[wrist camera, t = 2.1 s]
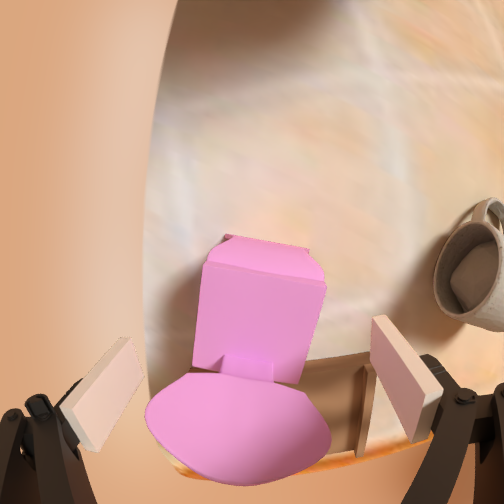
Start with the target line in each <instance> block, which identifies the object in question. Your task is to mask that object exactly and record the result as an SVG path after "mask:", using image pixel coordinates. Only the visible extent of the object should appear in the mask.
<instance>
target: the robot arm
mask: <svg viewBox="0 0 504 504" xmlns="http://www.w3.org/2000/svg"><path fill="white" fill-rule="evenodd" d="M370 362H371V364H372V366H373V368H374V369H375V371H376V373H377V375H378V377H379V379H380V381H381V383H382V385H383V387H384V389H385V391H386V393H387V395H388V397H389V399H390V401H391V403H392V405H393V407H394V409H395V411H396V413H397V416H398V418H399V420H400V422H401V424H402V426H403V428H404V430H405V432H406V435H407V437H408V439H409V441H410V443H411V444H413V443H416V442H419V441H422V440H425V439H428V436H429V433H430V431H431V430H432V432H433V434H434V437H433V440H432V442H431V444H430V447H429V449H428V451H427V454H426V456H425V458H424V460H423V462H422V464H421V466H420V468H419V470H418V472H417V474H416V476H415V478H414V480H413V482H412V485H411V486H410V488H409V490H408V492H407V493H406V495H405V497H404V499H403V500H402V502H401V504H447V503H448V500H449V498H450V495H451V493H452V490H453V488H454V485H455V483H456V480H457V477H458V475H459V472H460V469H461V466H462V463H463V459H464V457H465V454H466V450H467V447H468V444H471V443H475V487H474V500H473V504H504V383H501V384H499V385H497V387H496V388H495V391H494V393H493V394H489V395H481V396H478V395H477V394H476V392H474V391H473V390H471V389H468V388H460V387H459V385H458V384H457V383H456V382H455V380H454V379H453V378H452V377H451V376H450V374H449V373H448V372H447V371H446V369H445V368H444V367H443V366H442V365H441V363H440V362H439V361H438V360H437V359H436V358H434V357H433V356H431V355H429V354H426V355H422V356H418V355H417V353H416V352H415V351H414V349H413V348H412V347H411V346H410V344H409V343H408V342H407V341H406V339H405V338H404V337H403V336H402V334H401V333H400V332H399V331H398V329H397V328H396V327H395V326H394V324H393V323H392V322H391V321H390V320H389V318H388V317H387V316H386V315H379V316H373V317H372V329H371V348H370ZM143 378H144V374H143V371H142V368H141V365H140V362H139V359H138V356H137V353H136V350H135V347H134V344H133V341H132V338H131V337H120V338H119V339H118V340H117V341H116V343H115V344H114V345H113V346H112V347H111V348H110V349H109V350H108V351H107V353H106V354H105V355H104V356H103V357H102V358H101V359H100V360H99V362H98V363H97V364H96V365H95V366H94V367H93V368H92V369H91V370H90V372H89V373H88V374H87V375H86V376H85V377H84V378H82V379H80V380H79V381H77V382H76V383H74V385H73V386H72V387H71V388H70V390H68V391H67V392H66V395H64V396H63V397H62V398H61V399H60V401H59V402H58V403H57V404H56V405H55V406H54V407H53V406H52V405H51V403H50V401H49V399H48V397H47V396H46V395H44V394H36V395H33V396H31V397H30V398H28V399H27V401H26V402H25V407H26V408H27V410H28V412H29V414H30V415H31V417H25V416H24V414H23V413H22V411H21V410H20V409H16V408H15V409H10V410H8V411H7V412H6V413H5V414H4V415H3V417H2V420H1V422H0V504H97V502H96V499H95V496H94V494H93V491H92V488H91V485H90V482H89V479H88V476H87V473H86V470H85V467H84V463H83V460H82V456H81V453H80V450H79V449H78V447H77V445H78V444H79V442H81V444H82V445H83V447H84V448H85V450H88V451H91V452H95V453H99V451H100V450H101V448H102V446H103V444H104V443H105V441H106V439H107V438H108V436H109V434H110V433H111V431H112V429H113V428H114V426H115V424H116V423H117V421H118V419H119V418H120V416H121V414H122V413H123V411H124V409H125V408H126V406H127V404H128V402H129V401H130V399H131V398H132V396H133V395H134V393H135V391H136V390H137V388H138V386H139V385H140V383H141V381H142V380H143ZM20 448H21V449H22V450H23V452H22V454H21V452H20Z"/></svg>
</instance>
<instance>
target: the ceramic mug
mask: <svg viewBox="0 0 504 504" xmlns="http://www.w3.org/2000/svg"><path fill="white" fill-rule="evenodd" d="M488 208H489V209H490V210H491V211H492V212H493V213H494V214H495V215H496V216H497V217H498V219H499V220H500V222H501V224H502V228H503V234H504V204H503V203H502V202H501V201H500V200H499V199H497V198H488V199H486V200H483V201H481V202H480V203H478V204H477V206H476V207H475V209H474V212H473V215H472V219H471V221H469V222H466V223H464V224H463V225H461V226H460V227H458V228H457V229H456V230H455V231H454V232H453V233H452V235H451V236H450V237H449V239H448V240H447V242H446V243H445V245H444V247H443V249H442V251H441V253H440V255H439V258H438V260H437V263H436V267H435V272H434V281H433V289H434V296H435V299H436V302H437V304H438V306H439V308H440V309H441V310H442V311H443V313H445V314H446V315H447V316H449V317H450V318H452V319H455V320H459V321H462V322H465V323H468V324H471V325H474V326H477V327H481V328H483V329H486V330H489V331H493V332H504V235H503V234H502V233H501V232H500V231H499V230H498V229H496V228H495V227H494V226H493V225H491V224H490V223H488V222H486V221H485V216H486V213H487V209H488Z"/></svg>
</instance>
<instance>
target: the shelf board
mask: <svg viewBox="0 0 504 504" xmlns="http://www.w3.org/2000/svg"><path fill="white" fill-rule="evenodd" d="M189 373H219V372H218V371H212V370H207V369H203V368H190V370H189ZM376 377H377V373H376V371H375V369H374V368H373V366H372V364H371V362H370V352H364V353H358V354H352V355H346V356H339V357H333V358H325V359H318V360H310V361H305V364H304V368H303V371H302V374H301V377H300V380H299V383H298V384H290V383H282V382H276V381H274V383H277V384H280V385H284V386H287V387H290V388H292V389H295V390H298V391H301V392H304V393H305V394H306V395H307V397H308V398H309V400H310V401H311V402H312V404H313V405H314V406H315V407H316V409H317V410H318V411H319V413H320V414H321V415H322V417H323V418H324V420H325V422H326V423H327V425H328V427H329V429H330V432H331V437H332V442H331V447H330V449H329V450H328V452H327V453H326V454H333V453H339V452H345V451H351V450H354V453H355V457H356V458H358V457H363V455H364V450H365V446H366V441H367V436H368V430H369V425H370V419H371V413H372V406H373V400H374V393H375V385H376Z"/></svg>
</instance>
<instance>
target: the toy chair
mask: <svg viewBox="0 0 504 504" xmlns="http://www.w3.org/2000/svg"><path fill="white" fill-rule="evenodd" d="M225 238H226V239H229V240H227V241H225V242H223V243H221V244H219V245H217V246H216V247H214V248H213V249H212V250H211V251H210V252H209V254H208V257H207V260H206V262H205V263H204V264H203V269H202V277H201V285H200V294H199V304H198V314H197V323H196V332H195V340H194V349H193V360H192V366H194V367H198V368H203V369H207V370H212V371H218V372H219V373H186V374H185V375H184V376H182V377H181V378H180V379H178V380H176V381H175V382H173V383H172V384H170V385H168V386H167V387H165V388H164V389H163V390H161V391H160V392H159V393H157V394H156V395H155V396H154V397H153V398H152V399H151V400H150V401H149V403H148V405H147V407H146V409H145V420H146V424H147V427H148V429H149V430H150V432H151V433H152V434H153V436H154V437H155V439H156V440H157V441H158V442H159V443H160V444H161V445H162V446H163V447H164V448H165V449H166V450H167V451H168V452H169V453H170V454H172V455H173V456H174V457H175V458H176V459H178V460H179V461H180V462H181V463H183V464H184V465H186V466H187V467H188V468H190V469H191V470H193V471H194V472H196V473H198V474H199V475H201V476H203V477H205V478H207V479H210V480H212V481H215V482H218V483H222V484H228V485H235V486H254V485H260V484H265V483H269V482H272V481H276V480H279V479H282V478H285V477H288V476H290V475H293V474H295V473H298V472H300V471H302V470H304V469H306V468H308V467H310V466H312V465H313V464H315V463H316V462H318V461H319V460H320V459H321V458H323V457H324V456H325V455H326V453H327V452H328V450H329V449H330V447H331V442H332V437H331V432H330V429H329V427H328V425H327V423H326V422H325V420H324V418H323V417H322V415H321V414H320V413H319V411H318V410H317V409H316V407H315V406H314V405H313V404H312V402H311V401H310V400H309V398H308V397H307V395H306V394H305V393H304V392H301V391H298V390H295V389H292V388H290V387H287V386H284V385H280V384H277V383H274V381H276V382H282V383H290V384H298V383H299V380H300V377H301V374H302V371H303V368H304V364H305V361H306V357H307V354H308V350H309V347H310V344H311V340H312V337H313V334H314V330H315V327H316V324H317V321H318V318H319V314H320V311H321V308H322V304H323V300H324V297H325V293H326V289H327V286H326V284H325V282H324V272H323V270H322V268H321V267H320V265H319V264H318V263H317V262H316V261H315V260H314V259H313V258H312V257H311V256H310V255H309V254H307V253H309V249H307V248H302V247H296V246H291V245H286V244H280V243H275V242H269V241H264V240H258V239H253V238H247V237H242V236H236V235H230V234H225Z"/></svg>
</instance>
